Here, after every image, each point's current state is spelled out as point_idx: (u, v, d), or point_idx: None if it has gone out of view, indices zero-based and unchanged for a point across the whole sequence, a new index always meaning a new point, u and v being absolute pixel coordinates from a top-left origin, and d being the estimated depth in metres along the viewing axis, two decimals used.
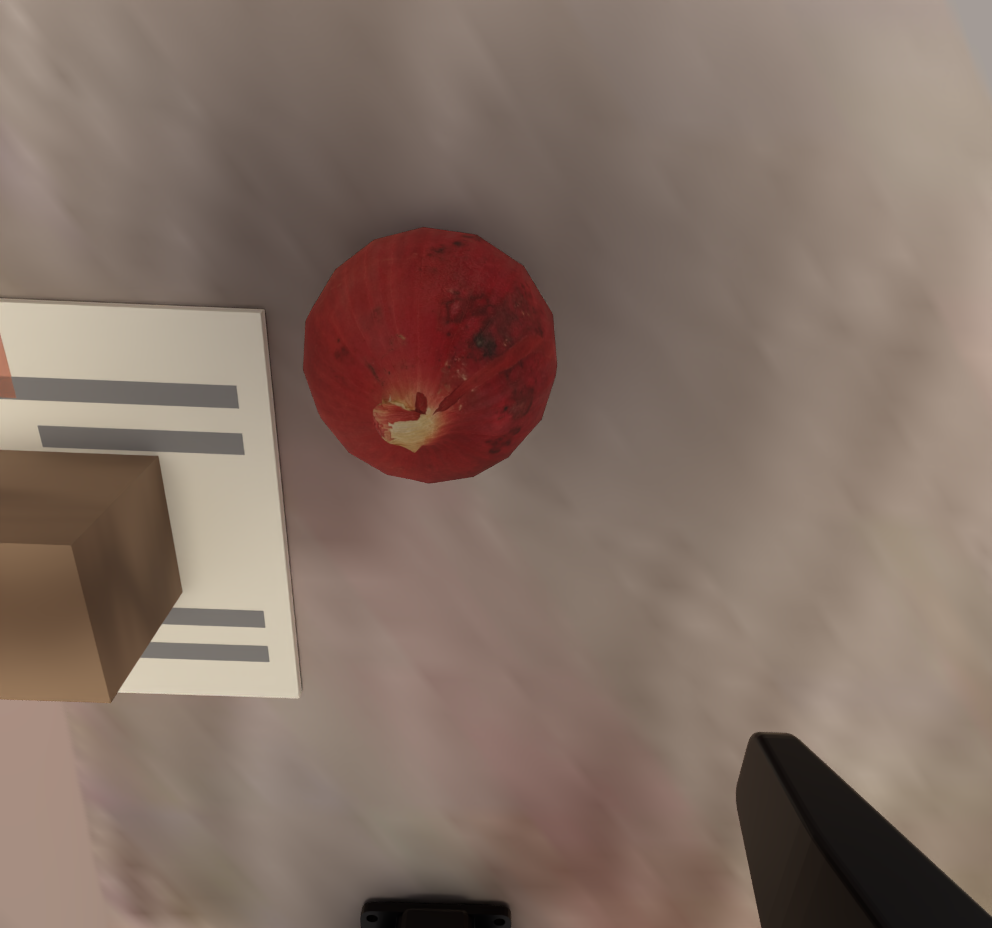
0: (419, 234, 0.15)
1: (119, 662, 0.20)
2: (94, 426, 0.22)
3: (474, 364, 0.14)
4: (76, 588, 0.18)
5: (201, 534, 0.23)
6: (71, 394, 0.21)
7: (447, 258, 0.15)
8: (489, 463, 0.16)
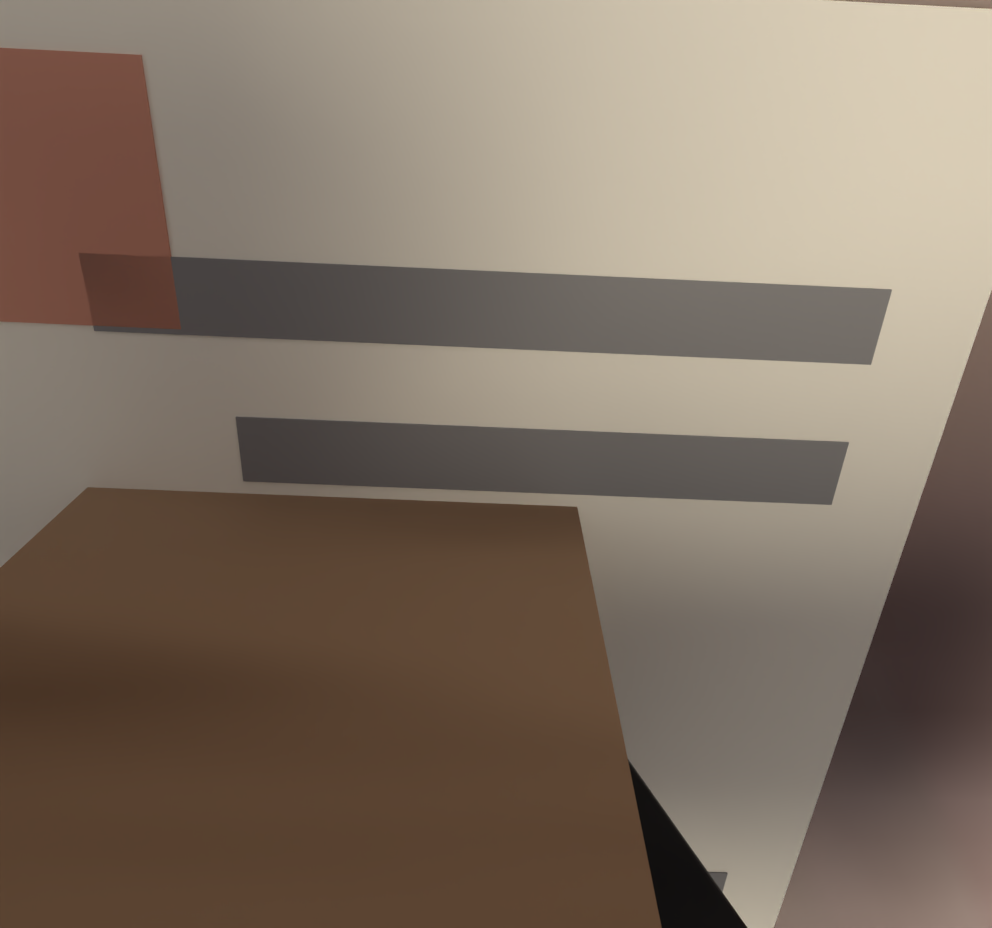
0: None
1: None
2: (405, 421, 0.07)
3: None
4: None
5: (633, 707, 0.09)
6: (354, 319, 0.07)
7: None
8: None
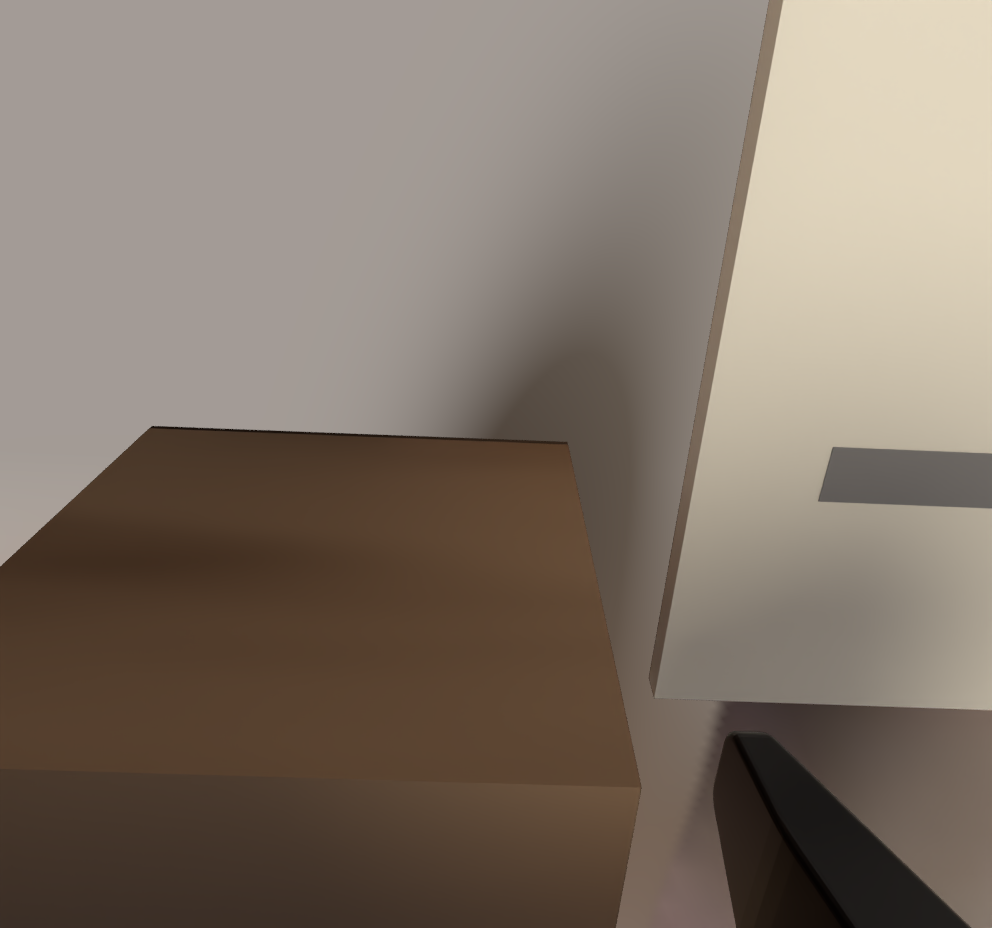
0: None
1: None
2: None
3: None
4: (598, 916, 0.05)
5: None
6: None
7: None
8: None
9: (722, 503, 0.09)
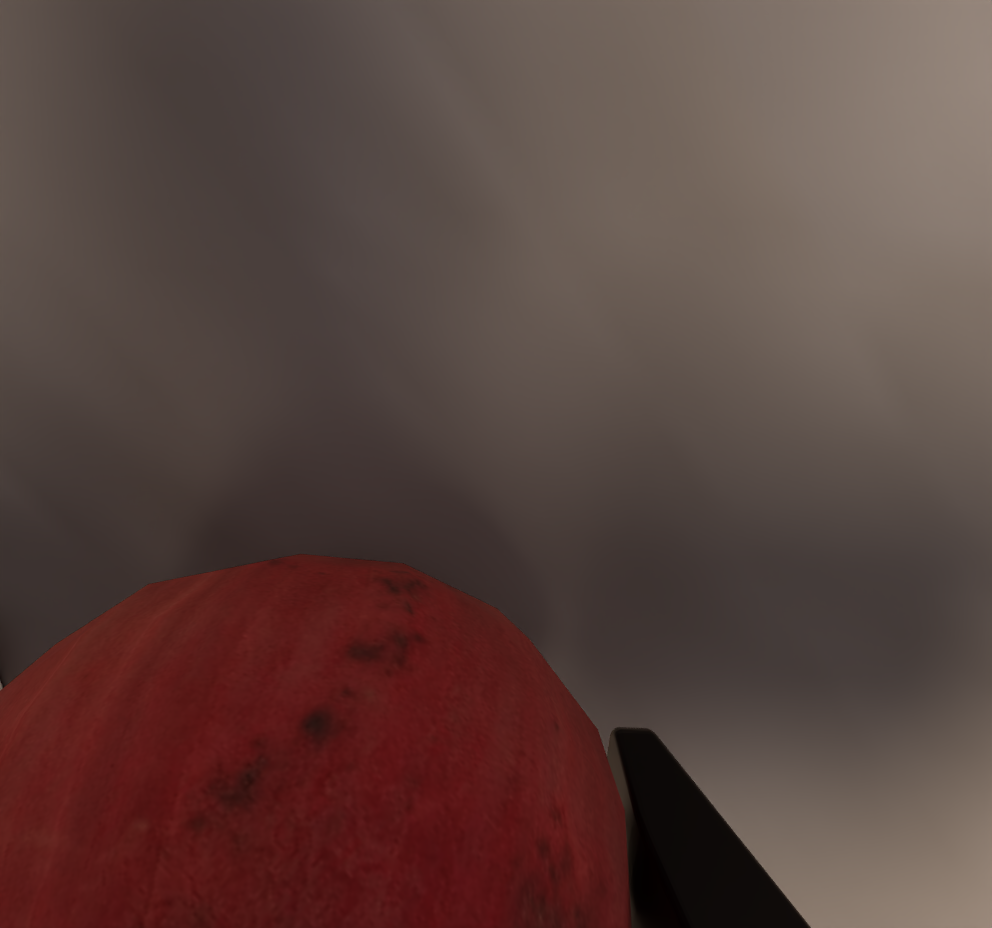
0: (190, 681, 0.05)
1: None
2: None
3: None
4: None
5: None
6: None
7: (263, 836, 0.04)
8: None
9: None
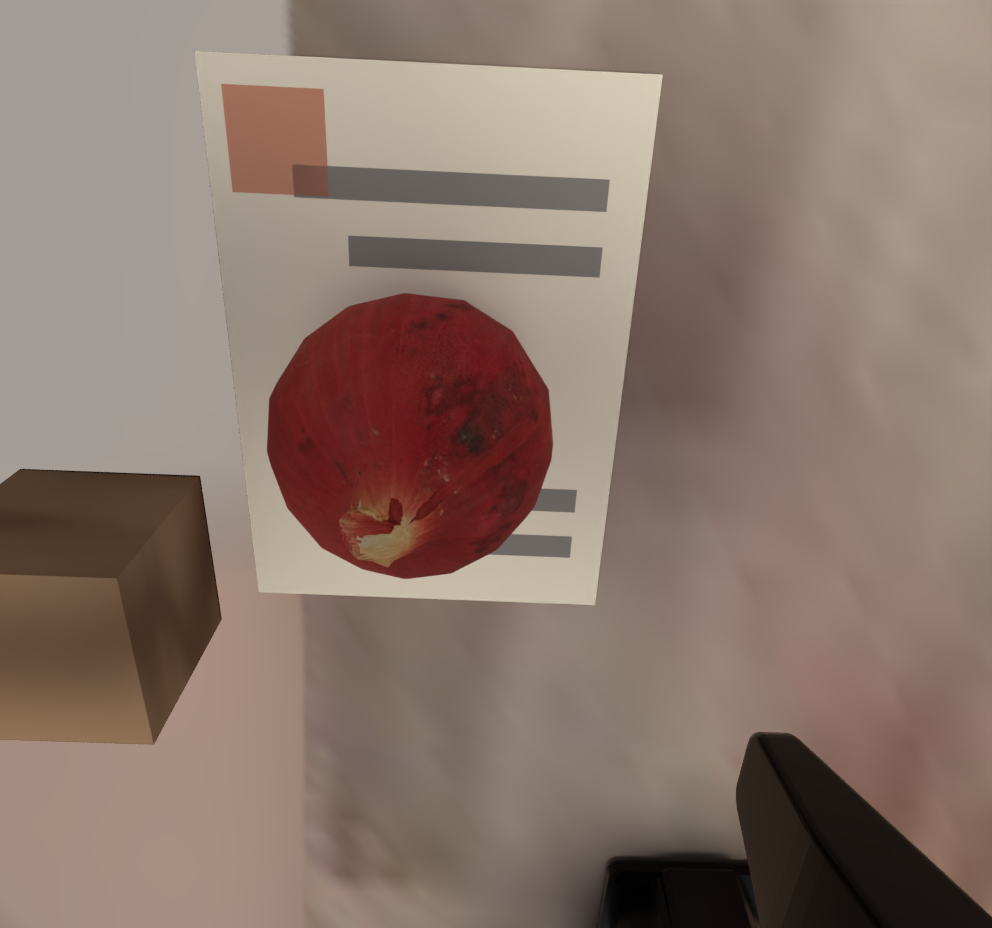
0: (398, 304, 0.14)
1: (162, 700, 0.19)
2: (418, 238, 0.17)
3: (458, 462, 0.12)
4: (121, 623, 0.17)
5: None
6: (398, 192, 0.17)
7: (430, 335, 0.13)
8: (475, 560, 0.14)
9: (261, 502, 0.20)
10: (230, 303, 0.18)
